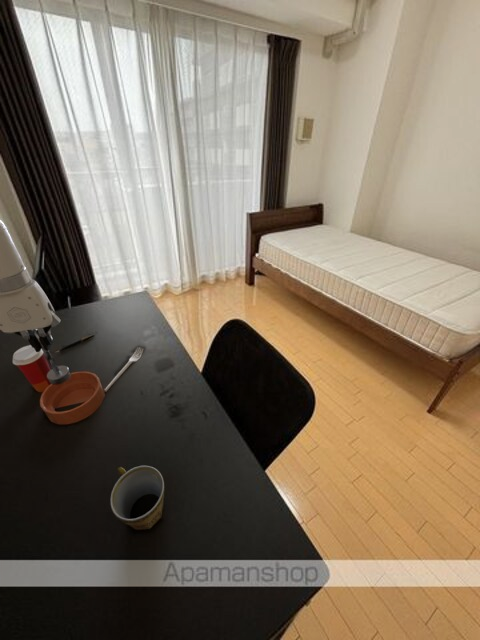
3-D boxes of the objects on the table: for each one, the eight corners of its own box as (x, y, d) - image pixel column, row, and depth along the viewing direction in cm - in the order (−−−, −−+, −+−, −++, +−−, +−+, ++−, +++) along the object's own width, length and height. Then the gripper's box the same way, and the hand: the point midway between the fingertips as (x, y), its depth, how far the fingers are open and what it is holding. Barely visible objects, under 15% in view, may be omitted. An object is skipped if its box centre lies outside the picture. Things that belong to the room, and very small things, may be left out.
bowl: (42, 433, 76) (32, 419, 72) (55, 391, 88) (47, 377, 84) (103, 419, 79) (96, 405, 76) (107, 380, 91) (102, 367, 88)
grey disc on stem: (47, 386, 73) (18, 337, 63) (52, 373, 77) (25, 325, 67) (69, 382, 74) (43, 333, 64) (72, 369, 78) (49, 321, 68)
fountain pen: (55, 354, 101) (54, 351, 101) (54, 353, 102) (53, 350, 101) (95, 336, 110) (94, 333, 109) (94, 335, 110) (93, 332, 110)
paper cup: (50, 373, 94) (32, 340, 86) (64, 382, 91) (47, 349, 83) (26, 389, 89) (4, 355, 80) (39, 399, 85) (18, 365, 77)
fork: (100, 391, 88) (99, 387, 87) (137, 350, 104) (136, 346, 103) (109, 393, 87) (108, 389, 86) (145, 352, 103) (144, 348, 102)
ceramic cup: (180, 510, 61) (174, 488, 55) (139, 554, 55) (127, 534, 49) (146, 470, 68) (137, 447, 62) (107, 504, 62) (93, 482, 56)
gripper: (-46, 294, 54) (2, 364, 64) (45, 282, 57) (76, 351, 68) (-28, 277, 60) (13, 344, 70) (53, 267, 63) (81, 332, 74)
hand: (44, 347), depth 69 cm, fingers closed on grey disc on stem, 1 cm apart
